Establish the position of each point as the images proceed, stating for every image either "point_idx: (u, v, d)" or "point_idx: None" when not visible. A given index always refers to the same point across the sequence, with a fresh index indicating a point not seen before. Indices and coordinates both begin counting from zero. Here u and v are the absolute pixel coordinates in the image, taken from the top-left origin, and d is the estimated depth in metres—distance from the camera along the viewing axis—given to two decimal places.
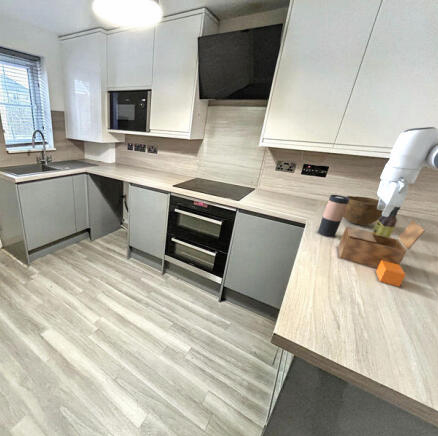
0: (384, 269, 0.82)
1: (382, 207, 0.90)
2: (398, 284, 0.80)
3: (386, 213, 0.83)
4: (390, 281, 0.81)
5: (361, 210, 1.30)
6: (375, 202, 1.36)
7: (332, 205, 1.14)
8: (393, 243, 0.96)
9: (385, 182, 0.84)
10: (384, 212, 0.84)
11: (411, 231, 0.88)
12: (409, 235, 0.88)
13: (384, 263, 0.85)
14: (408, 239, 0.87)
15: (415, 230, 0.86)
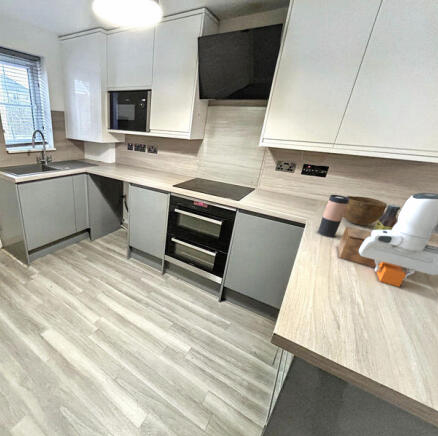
0: (384, 269, 0.82)
1: None
2: (398, 284, 0.80)
3: None
4: (390, 281, 0.81)
5: (361, 210, 1.30)
6: (375, 202, 1.36)
7: (332, 205, 1.14)
8: None
9: (411, 251, 0.77)
10: None
11: None
12: None
13: (384, 263, 0.85)
14: None
15: None
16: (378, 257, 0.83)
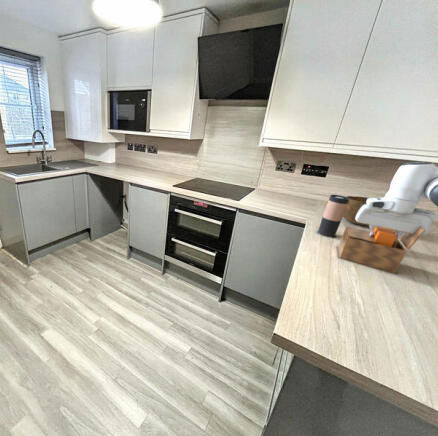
0: (378, 232, 0.91)
1: None
2: (390, 245, 0.89)
3: None
4: (383, 243, 0.90)
5: None
6: None
7: (332, 205, 1.14)
8: (393, 243, 0.96)
9: (401, 214, 0.86)
10: None
11: None
12: (409, 235, 0.88)
13: (378, 228, 0.94)
14: (408, 239, 0.87)
15: None
16: (372, 222, 0.92)
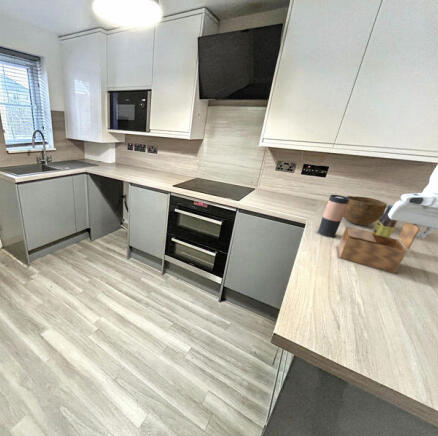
0: None
1: None
2: None
3: None
4: None
5: (361, 210, 1.30)
6: (375, 202, 1.36)
7: (332, 205, 1.14)
8: (393, 243, 0.96)
9: None
10: None
11: (408, 230, 0.89)
12: (407, 234, 0.88)
13: None
14: (406, 239, 0.88)
15: (411, 229, 0.87)
16: (408, 219, 0.86)
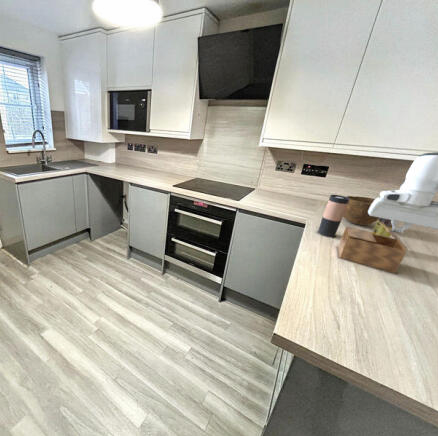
0: None
1: None
2: None
3: None
4: None
5: (361, 210, 1.30)
6: None
7: (332, 205, 1.14)
8: (393, 243, 0.96)
9: (417, 207, 0.83)
10: None
11: None
12: (394, 236, 0.91)
13: None
14: None
15: (389, 232, 0.90)
16: (386, 215, 0.89)
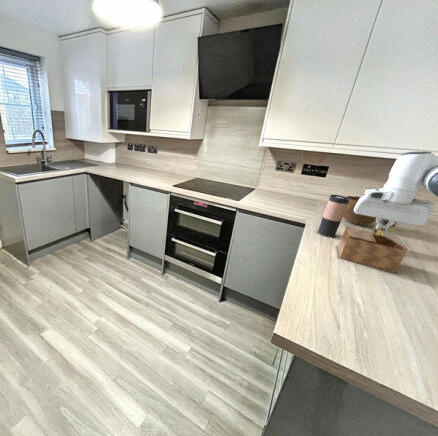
0: None
1: None
2: None
3: None
4: None
5: None
6: None
7: (332, 205, 1.14)
8: (393, 243, 0.96)
9: (400, 205, 0.86)
10: None
11: (387, 235, 0.92)
12: (392, 238, 0.91)
13: None
14: None
15: None
16: (371, 213, 0.92)
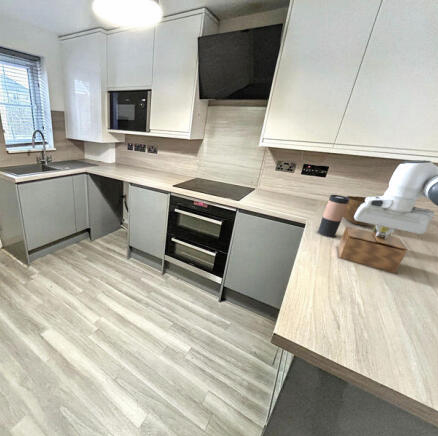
0: None
1: None
2: None
3: None
4: None
5: None
6: None
7: (332, 205, 1.14)
8: None
9: (400, 213, 0.86)
10: None
11: None
12: None
13: None
14: None
15: None
16: (371, 220, 0.92)
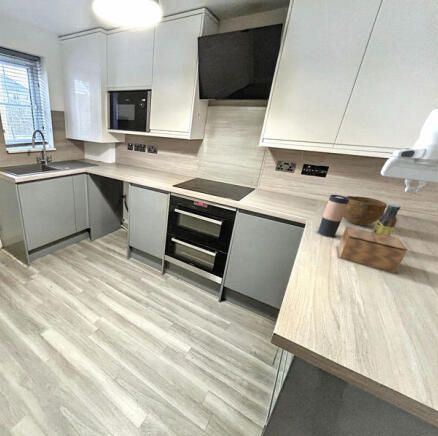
0: None
1: None
2: None
3: None
4: None
5: (361, 210, 1.30)
6: (375, 202, 1.36)
7: (332, 205, 1.14)
8: None
9: (433, 162, 0.81)
10: None
11: None
12: None
13: None
14: None
15: None
16: (400, 174, 0.87)
